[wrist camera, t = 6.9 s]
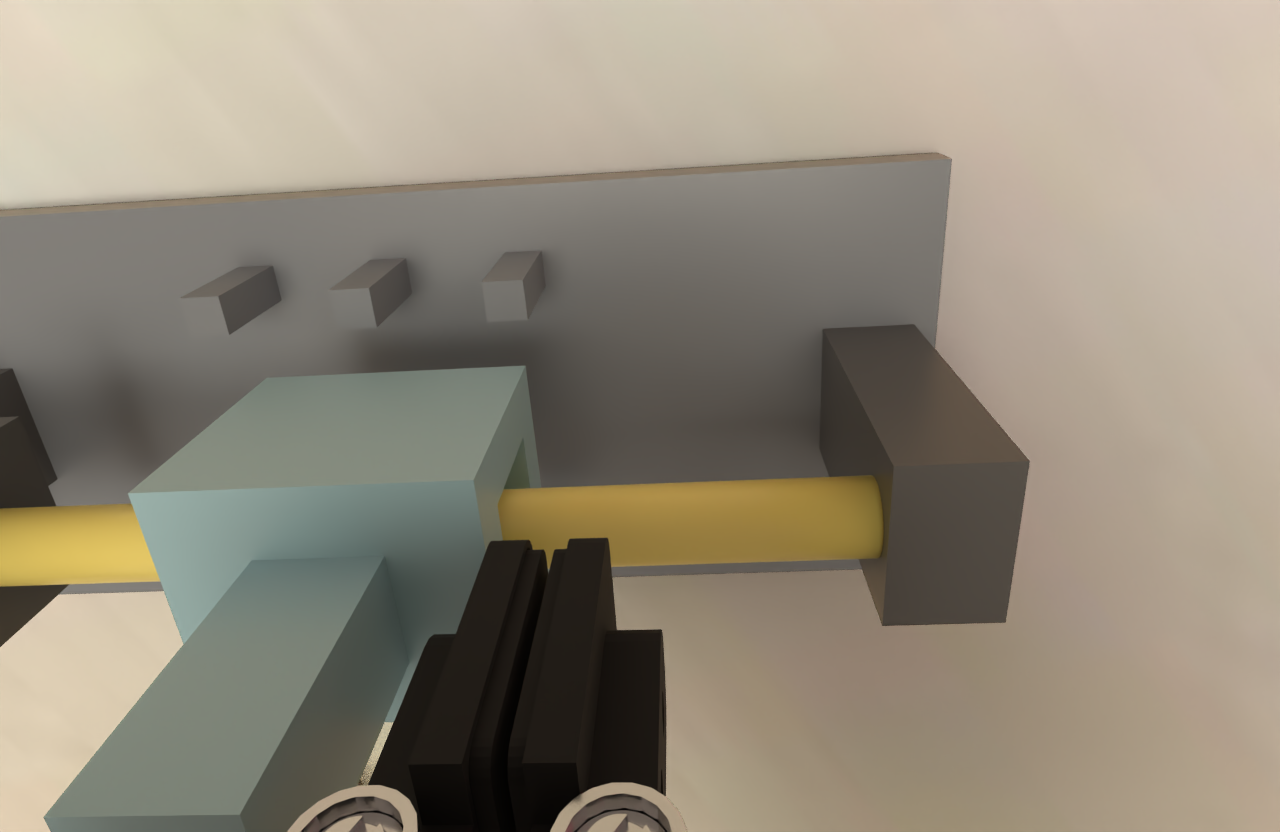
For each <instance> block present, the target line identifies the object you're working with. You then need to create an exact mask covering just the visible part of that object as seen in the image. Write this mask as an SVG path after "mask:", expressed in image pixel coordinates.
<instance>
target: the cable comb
mask: <svg viewBox="0 0 1280 832" xmlns="http://www.w3.org/2000/svg"><path fill="white" fill-rule="evenodd" d="M951 162H952V159H951V158H949V157H946V156H944V155H942V154H939V153H924V154H908V155H892V156H875V157H859V158H843V159H826V160H810V161H794V162H777V163H761V164H745V165H728V166H712V167H696V168H680V169H663V170H647V171H631V172H614V173H598V174H582V175H565V176H549V177H533V178H516V179H500V180H484V181H467V182H451V183H435V184H418V185H402V186H386V187H370V188H353V189H337V190H321V191H304V192H288V193H272V194H255V195H239V196H223V197H206V198H190V199H174V200H157V201H141V202H125V203H109V204H92V205H76V206H60V207H43V208H27V209H11V210H0V647H1V646H2V645H3V644H4V643H5V642H6V641H7V640H9V639H10V638H11V637H12V636H13V635H14V634H15V633H16V632H17V631H18V630H20V629H21V628H22V627H23V626H24V625H25V624H26V623H27V622H28V621H30V620H31V619H32V618H33V617H34V616H35V615H36V614H37V613H38V612H40V611H41V610H42V609H43V608H44V607H45V606H46V605H47V604H48V603H50V602H51V601H52V600H53V599H54V598H55V597H56V596H57V595H58V594H86V593H118V592H150V591H164V590H163V587H162V584H161V582H160V579H159V576H158V574H157V571H156V568H155V565H154V563H153V560H152V557H151V555H150V552H149V549H148V547H147V544H146V541H145V539H144V536H143V533H142V530H141V528H140V525H139V522H138V520H137V517H136V514H135V512H134V509H133V506H132V504H131V501H130V498H129V495H128V493H129V492H130V491H131V490H132V489H134V488H135V487H136V486H137V485H138V484H140V483H141V482H142V481H143V480H144V479H146V478H147V477H148V476H149V475H151V474H152V473H153V472H154V471H155V470H157V469H158V468H159V467H160V466H161V465H163V464H164V463H165V462H166V461H167V460H169V459H170V458H171V457H172V456H173V455H175V454H176V453H177V452H178V451H179V450H181V449H182V448H183V447H184V446H185V445H187V444H188V443H189V442H190V441H191V440H193V439H194V438H195V437H196V436H197V435H199V434H200V433H201V432H202V431H203V430H205V429H206V428H207V427H208V426H209V425H211V424H212V423H213V422H214V421H215V420H217V419H218V418H219V417H220V416H221V415H223V414H224V413H225V412H226V411H227V410H229V409H230V408H231V407H232V406H233V405H235V404H236V403H237V402H238V401H239V400H241V399H242V398H243V397H244V396H245V395H247V394H248V393H249V392H250V391H251V390H253V389H254V388H255V387H256V386H258V385H259V384H260V383H261V382H262V381H264V380H265V379H266V378H272V377H294V376H315V375H336V374H357V373H378V372H399V371H421V370H442V369H463V368H484V367H505V366H526V373H527V381H528V388H529V396H530V404H531V411H532V419H533V427H534V434H535V442H536V450H537V457H538V465H539V473H540V480H541V488H525V489H503V492H502V494H501V497H500V500H499V502H498V505H497V506H498V512H499V518H500V525H501V531H502V537H503V540H530V542H531V544H532V548H533V550H542V549H544V551H545V553H546V558H547V566H548V569H549V570H550V565H551V561H552V557H553V553H554V550H555V549H567V545H568V541H569V539H574V538H608V541H609V547H610V557H611V569H612V577H630V576H662V575H694V574H726V573H758V572H790V571H822V570H854V569H862V570H863V573H864V576H865V579H866V581H867V584H868V587H869V590H870V593H871V595H872V598H873V601H874V604H875V607H876V609H877V612H878V615H879V618H880V621H881V623H882V626H893V625H930V624H967V623H1004V622H1006V616H1007V610H1008V603H1009V596H1010V590H1011V583H1012V576H1013V569H1014V563H1015V556H1016V549H1017V543H1018V536H1019V529H1020V523H1021V516H1022V509H1023V502H1024V496H1025V489H1026V482H1027V476H1028V469H1029V462H1030V461H1029V460H1028V459H1027V457H1026V456H1025V455H1024V454H1023V453H1022V452H1021V450H1020V449H1019V448H1018V447H1017V446H1016V444H1015V443H1014V442H1013V441H1012V440H1011V439H1010V437H1009V436H1008V435H1007V434H1006V433H1005V431H1004V430H1003V429H1002V428H1001V427H1000V425H999V424H998V423H997V422H996V421H995V420H994V418H993V417H992V416H991V415H990V414H989V412H988V411H987V410H986V409H985V408H984V407H983V405H982V404H981V403H980V402H979V401H978V399H977V398H976V397H975V396H974V395H973V393H972V392H971V391H970V390H969V389H968V388H967V386H966V385H965V384H964V383H963V382H962V380H961V379H960V378H959V377H958V376H957V375H956V373H955V372H954V371H953V370H952V369H951V367H950V366H949V365H948V364H947V363H946V361H945V360H944V359H943V358H942V357H941V356H940V354H939V353H938V352H937V351H936V350H935V341H936V330H937V319H938V307H939V296H940V285H941V274H942V263H943V252H944V240H945V229H946V218H947V207H948V196H949V185H950V173H951ZM548 574H549V573H548Z"/></svg>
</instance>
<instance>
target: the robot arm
mask: <svg viewBox="0 0 1280 832" xmlns="http://www.w3.org/2000/svg"><path fill="white" fill-rule="evenodd" d="M287 832H687V829H686V826H685V823H684V821H683V818H682V816H681V813H680V811H679V810H678V809H677V808H676V807H675V806H674V804H673V803H672V802H671V801H670V800H669V798H667V797H666V688H665V666H664V648H663V634H662V630H617V628H616V616H615V605H614V593H613V581H612V569H611V557H610V547H609V541H608V538H574V539H569V541H568V545H567V549H555V550H554V553H553V557H552V561H551V565H550V570H549V574H548V566H547V558H546V553H545V551H544V549H542V550H533V548H532V544H531V542H530V540H502V541H491V542H490V543H489V545H488V547H487V550H486V552H485V555H484V558H483V561H482V563H481V566H480V569H479V571H478V574H477V577H476V580H475V582H474V585H473V588H472V591H471V593H470V596H469V599H468V602H467V604H466V607H465V610H464V613H463V615H462V618H461V621H460V624H459V626H458V629H457V632H456V634H434V635H432V636H431V637H430V638H429V639H428V641H427V643H426V645H425V647H424V649H423V652H422V654H421V657H420V659H419V662H418V664H417V666H416V669H415V671H414V674H413V676H412V679H411V681H410V684H409V686H408V689H407V691H406V693H405V696H404V698H403V701H402V703H401V706H400V708H399V711H398V713H397V715H396V718H395V720H394V723H393V725H392V728H391V730H390V733H389V735H388V737H387V740H386V742H385V745H384V747H383V750H382V752H381V755H380V757H379V759H378V762H377V764H376V767H375V769H374V772H373V774H372V777H371V779H370V782H369V784H368V785H360V786H356V787H352V788H348V789H345V790H341V791H338V792H336V793H334V794H332V795H330V796H328V797H326V798H324V799H322V800H320V801H318V802H317V803H316V804H314V805H313V806H312V807H311V808H309V809H308V810H307V811H306V812H304V813H303V814H302V815H300V817H299V818H298V819H297V820H296V821H295V823H294V824H293V825H292V826H291V827H290V829H289V830H288V831H287Z"/></svg>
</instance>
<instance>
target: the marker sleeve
mask: <svg viewBox="0 0 1280 832" xmlns="http://www.w3.org/2000/svg"><path fill="white" fill-rule="evenodd" d="M525 488H541V480H540V473H539V465H538V457H537V450H536V442H535V434H534V427H533V419H532V411H531V404H530V396H529V388H528V381H527V373H526V366H505V367H484V368H463V369H442V370H421V371H399V372H378V373H357V374H336V375H315V376H294V377H272V378H266V379H265V380H264V381H262V382H261V383H260V384H259V385H258V386H256V387H255V388H254V389H253V390H251V391H250V392H249V393H248V394H247V395H245V396H244V397H243V398H242V399H241V400H239V401H238V402H237V403H236V404H235V405H233V406H232V407H231V408H230V409H229V410H227V411H226V412H225V413H224V414H223V415H221V416H220V417H219V418H218V419H217V420H215V421H214V422H213V423H212V424H211V425H209V426H208V427H207V428H206V429H205V430H203V431H202V432H201V433H200V434H199V435H197V436H196V437H195V438H194V439H193V440H191V441H190V442H189V443H188V444H187V445H185V446H184V447H183V448H182V449H181V450H179V451H178V452H177V453H176V454H175V455H173V456H172V457H171V458H170V459H169V460H167V461H166V462H165V463H164V464H163V465H161V466H160V467H159V468H158V469H157V470H155V471H154V472H153V473H152V474H151V475H149V476H148V477H147V478H146V479H144V480H143V481H142V482H141V483H140V484H138V485H137V486H136V487H135V488H134V489H132V490H131V491H130V492H129V493H128V495H129V498H130V501H131V504H132V506H133V509H134V512H135V514H136V517H137V520H138V522H139V525H140V528H141V530H142V533H143V536H144V539H145V541H146V544H147V547H148V549H149V552H150V555H151V557H152V560H153V563H154V565H155V568H156V571H157V574H158V576H159V579H160V582H161V584H162V587H163V590H164V592H165V595H166V598H167V601H168V603H169V606H170V609H171V611H172V614H173V617H174V619H175V622H176V625H177V627H178V630H179V633H180V636H181V638H182V641H183V644H184V645H183V646H182V647H181V648H180V650H179V651H178V652H177V653H176V654H175V656H174V657H173V658H172V659H171V661H170V662H169V663H168V664H167V666H166V667H165V668H164V669H163V670H162V672H161V673H160V674H159V675H158V677H157V678H156V679H155V680H154V682H153V683H152V684H151V685H150V687H149V688H148V689H147V690H146V691H145V693H144V694H143V695H142V696H141V698H140V699H139V700H138V701H137V703H136V704H135V705H134V706H133V708H132V709H131V710H130V711H129V712H128V714H127V715H126V716H125V717H124V719H123V720H122V721H121V722H120V724H119V725H118V726H117V727H116V729H115V730H114V731H113V732H112V733H111V735H110V736H109V737H108V738H107V740H106V741H105V742H104V743H103V745H102V746H101V747H100V748H99V750H98V751H97V752H96V753H95V754H94V756H93V757H92V758H91V759H90V761H89V762H88V763H87V764H86V766H85V767H84V768H83V769H82V771H81V772H80V773H79V774H78V775H77V777H76V778H75V779H74V780H73V782H72V783H71V784H70V785H69V787H68V788H67V789H66V790H65V791H64V793H63V794H62V795H61V796H60V798H59V799H58V800H57V801H56V803H55V804H54V805H53V806H52V808H51V809H50V810H49V811H48V812H47V814H46V815H45V816H44V819H45V821H46V823H47V825H48V827H49V829H50V831H51V832H287V831H288V830H289V829H290V827H291V826H292V825H293V824H294V823H295V821H296V820H297V819H298V818H299V817H300V815H302V814H303V813H304V812H306V811H307V810H308V809H309V808H311V807H312V806H313V805H314V804H316V803H317V802H318V801H320V800H322V799H324V798H326V797H328V796H330V795H332V794H334V793H336V792H338V791H341V790H345V789H348V788H352V787H356V786H357V785H358V783H359V781H360V778H361V776H362V774H363V771H364V769H365V767H366V764H367V762H368V759H369V757H370V755H371V752H372V750H373V748H374V745H375V743H376V741H377V738H378V736H379V733H380V731H381V729H382V726H383V724H384V722H394V720H395V718H396V715H397V713H398V711H399V708H400V706H401V703H402V701H403V698H404V696H405V693H406V691H407V689H408V686H409V684H410V681H411V679H412V676H413V674H414V671H415V669H416V666H417V664H418V662H419V659H420V657H421V654H422V652H423V649H424V647H425V645H426V643H427V641H428V639H429V638H430V637H431V636H432V635H434V634H456V632H457V629H458V626H459V624H460V621H461V618H462V615H463V613H464V610H465V607H466V604H467V602H468V599H469V596H470V593H471V591H472V588H473V585H474V582H475V580H476V577H477V574H478V571H479V569H480V566H481V563H482V561H483V558H484V555H485V552H486V550H487V547H488V545H489V543H490V542H491V541H502V540H503V537H502V531H501V525H500V518H499V512H498V506H497V505H498V502H499V500H500V497H501V494H502V492H503V489H525ZM548 573H549V569H548Z"/></svg>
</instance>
